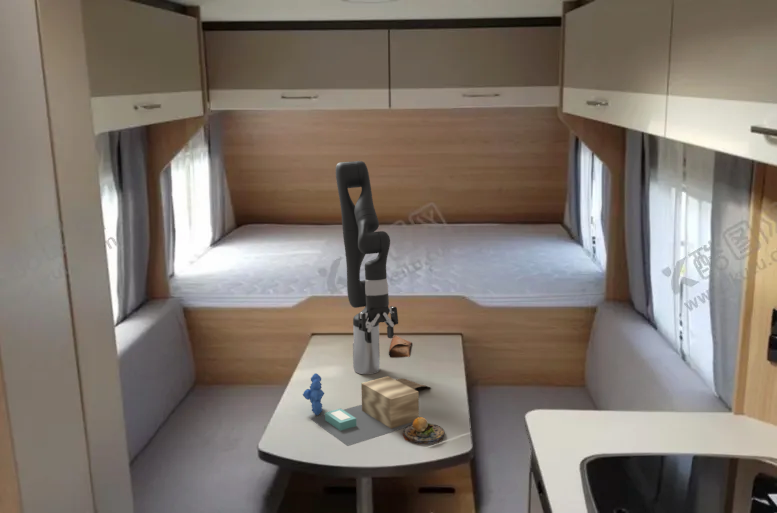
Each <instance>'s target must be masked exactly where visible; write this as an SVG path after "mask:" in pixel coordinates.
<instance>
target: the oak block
mask: <svg viewBox="0 0 777 513" xmlns="http://www.w3.org/2000/svg"><path fill="white" fill-rule="evenodd" d="M360 389H361V405H362V411H364V412H365V413H367V414H368V415H370V416H372V417H373V418H375V419H377V420H378V421H380V422H381V423H383V424H385V425H386V426H388V427H389V428H395V427H398V426H401V425H404V424H408V423H411V422H414V420H415V419H416V418H418V417H419V415H420V412H419V410H420V409H419V407H420V406H419V404H420V402H419V398H420V397H419V391H418V390H417V389H412V388H410V387H408V386H407V385H405V384H403V383H401V382H399V381H397V380H395V378H393V377H391V376H388V375H387V376H383V377H380V378H376V379H372V380H369V381H364V382H361V388H360Z"/></svg>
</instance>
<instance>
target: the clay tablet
mask: <svg viewBox="0 0 777 513" xmlns="http://www.w3.org/2000/svg"><path fill="white" fill-rule="evenodd" d="M394 379H395V378H394ZM395 380H397V381H399V382H401V383H403V384H405V385H407V386H408V387H410V388H412V389H414V390H416V389H417V388H421V387H425V388H429V389H431V387H430V386H426V385H423V384H421V383H418V382H415V381H412V380H408V379H407V378H396V379H395Z"/></svg>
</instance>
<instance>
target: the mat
mask: <svg viewBox="0 0 777 513" xmlns="http://www.w3.org/2000/svg"><path fill="white" fill-rule="evenodd" d="M343 410H344V411H346V412H347V413H349V414H350V415H352V416H353V417H355V418H356V426H355V427H351V428H348V429H345V430H341V431H340V430H339V429H337V428H336V427H334V426H333V425H331V424H330V423H328V422H327V421H326V420H325V414H323V415H320V416H319V415H318V416H315V417H312V418H310V421H312V422H314V424H316V425H318V426H319V427H321V428H322V429H324V431H326V432H328V433H329V434H330V435H331V436H333V437H334V438H336V439H337V440H338V441H340V442H341V443H343V444H344V445H345V446H347V447H349V446H352V445H355V444H360V443H361V442H362V443H363V442H365V441H368V440H371V439H374V438H377V437H380V436H384V435H387V434H391V433H394V432H397V431H400V430H404V429H405V428H406V427H407V426H409V425H412V424H413V422H411V423H408V424H404V425H401V426H398V427H395V428H389V427H388V426H386V425H385V424H383V423H381V422H380V421H378V420H377V419H375V418H373V417H372V416H370V415H368V414H367V413H365V412H364V411H362V404H359V405H356V406H352V407H348V408H345V409H343Z"/></svg>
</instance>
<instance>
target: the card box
mask: <svg viewBox="0 0 777 513" xmlns="http://www.w3.org/2000/svg"><path fill="white" fill-rule="evenodd" d="M324 415H325V420H326V421H327V422H328V423H330V424H331V425H333V426H334V427H336V428H337V429H339V430H340V431H341V430H345V429H348V428H351V427H355V426H356V418H355V417H353V416H352V415H350V414H349V413H347V412H346V411H344V409H342V408H337V409H333V410H330V411H327V412H324Z"/></svg>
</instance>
